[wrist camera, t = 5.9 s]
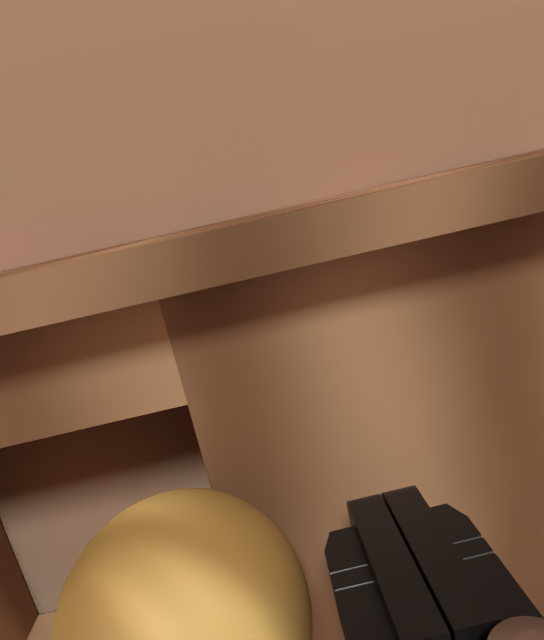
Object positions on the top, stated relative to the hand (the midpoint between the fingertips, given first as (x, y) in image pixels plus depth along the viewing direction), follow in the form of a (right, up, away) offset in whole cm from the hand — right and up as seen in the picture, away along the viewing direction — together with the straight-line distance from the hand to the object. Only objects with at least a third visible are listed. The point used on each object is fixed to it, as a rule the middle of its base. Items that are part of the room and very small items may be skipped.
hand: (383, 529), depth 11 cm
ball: (-4, -1, -1) cm, 4 cm away
